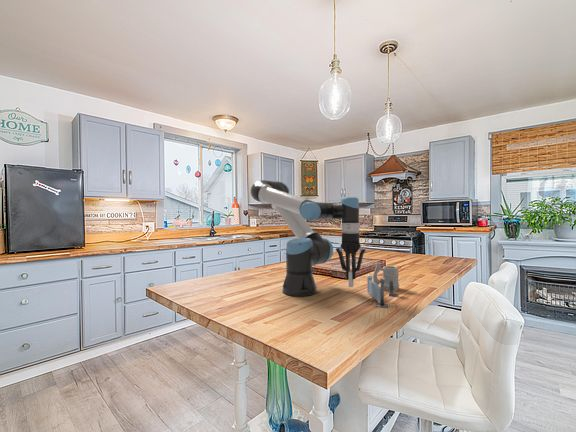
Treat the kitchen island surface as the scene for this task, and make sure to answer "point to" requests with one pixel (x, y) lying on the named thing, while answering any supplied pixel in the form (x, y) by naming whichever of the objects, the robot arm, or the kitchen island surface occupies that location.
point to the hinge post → (382, 295)
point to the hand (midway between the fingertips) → (351, 286)
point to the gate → (373, 288)
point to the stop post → (392, 289)
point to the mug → (387, 276)
